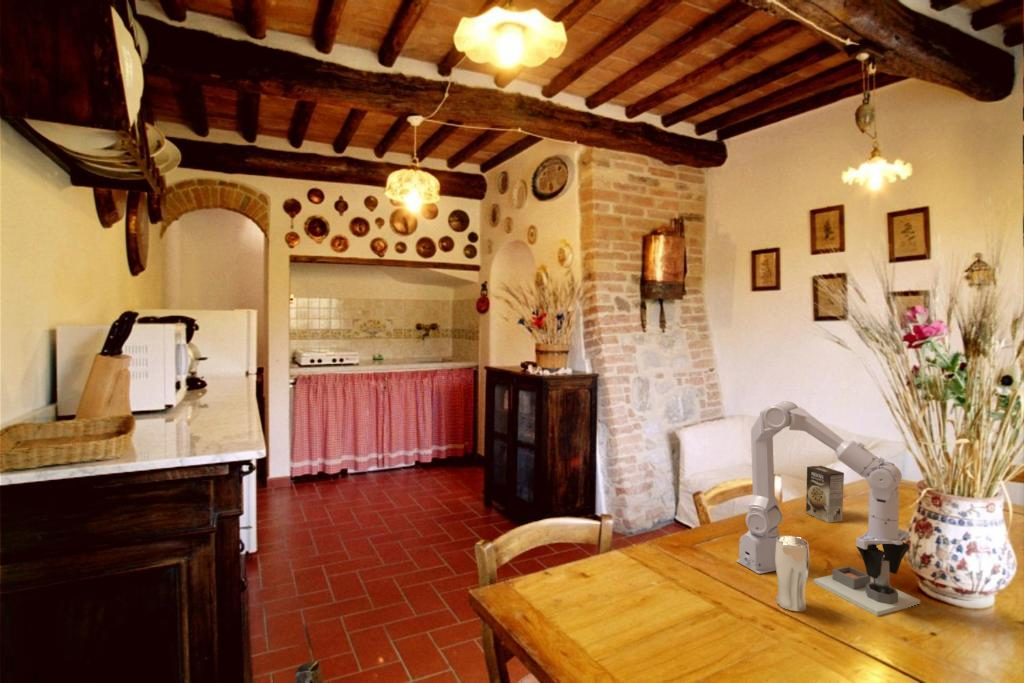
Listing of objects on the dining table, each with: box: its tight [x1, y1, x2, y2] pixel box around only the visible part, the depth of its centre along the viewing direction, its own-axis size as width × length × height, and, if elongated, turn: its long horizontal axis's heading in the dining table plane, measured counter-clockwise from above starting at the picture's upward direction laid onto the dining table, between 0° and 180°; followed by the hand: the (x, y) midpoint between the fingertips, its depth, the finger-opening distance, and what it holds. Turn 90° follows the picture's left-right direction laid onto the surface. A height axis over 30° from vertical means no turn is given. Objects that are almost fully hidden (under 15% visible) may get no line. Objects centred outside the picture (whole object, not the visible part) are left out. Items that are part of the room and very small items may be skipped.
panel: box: [813, 565, 921, 617], centre depth 128 cm, size 14×16×4 cm
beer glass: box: [775, 534, 810, 612], centre depth 122 cm, size 7×7×15 cm
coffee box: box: [805, 465, 845, 524], centre depth 177 cm, size 9×6×16 cm
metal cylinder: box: [873, 556, 890, 594], centre depth 124 cm, size 3×3×9 cm
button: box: [846, 573, 858, 578], centre depth 131 cm, size 4×4×1 cm
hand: (882, 574), depth 124 cm, fingers open, 6 cm apart
